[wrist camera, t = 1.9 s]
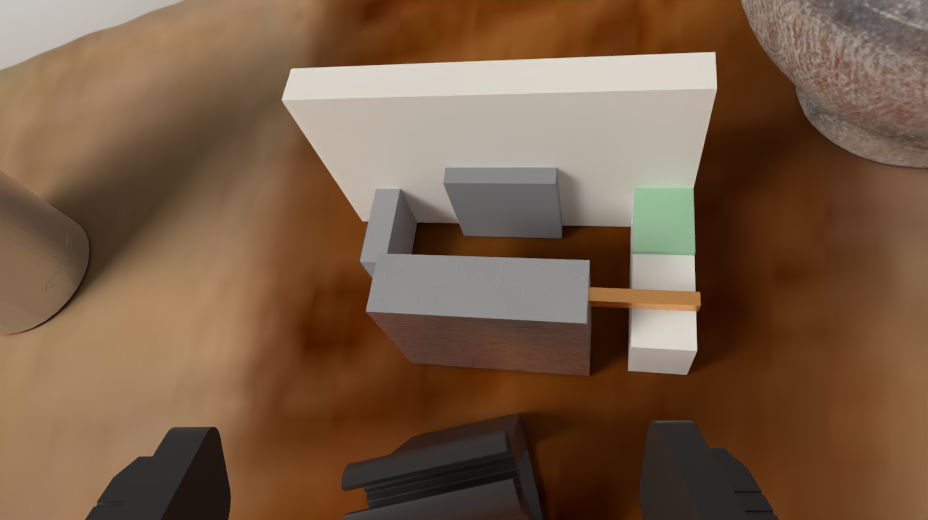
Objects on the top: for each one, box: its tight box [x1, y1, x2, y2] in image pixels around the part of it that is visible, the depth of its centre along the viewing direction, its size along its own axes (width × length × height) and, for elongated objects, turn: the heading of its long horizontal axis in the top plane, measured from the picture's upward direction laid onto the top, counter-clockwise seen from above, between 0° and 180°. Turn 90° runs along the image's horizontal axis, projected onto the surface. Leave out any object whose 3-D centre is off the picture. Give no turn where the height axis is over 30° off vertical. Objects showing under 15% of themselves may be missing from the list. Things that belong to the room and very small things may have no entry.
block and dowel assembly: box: [366, 253, 701, 376], centre depth 32 cm, size 15×3×8 cm, turn 82°
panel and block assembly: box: [282, 52, 717, 375], centre depth 33 cm, size 20×11×12 cm, turn 82°
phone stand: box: [342, 413, 544, 520], centre depth 27 cm, size 9×6×12 cm, turn 10°
